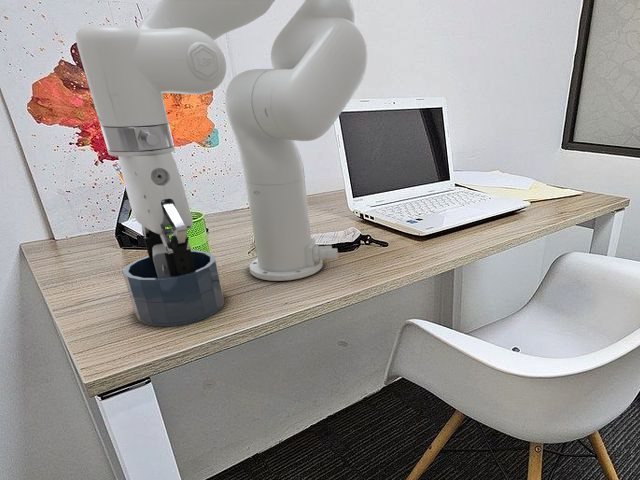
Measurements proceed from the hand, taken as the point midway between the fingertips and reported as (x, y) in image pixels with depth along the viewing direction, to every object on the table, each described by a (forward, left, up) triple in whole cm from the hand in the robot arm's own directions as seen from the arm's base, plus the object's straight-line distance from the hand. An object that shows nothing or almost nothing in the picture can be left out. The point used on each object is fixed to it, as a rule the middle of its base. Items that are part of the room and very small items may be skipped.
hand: (173, 269), depth 68 cm
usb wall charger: (0, 0, -1) cm, 1 cm away
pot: (0, 0, -6) cm, 6 cm away
